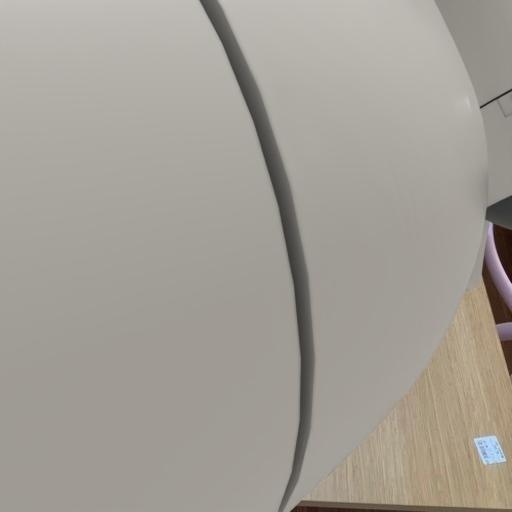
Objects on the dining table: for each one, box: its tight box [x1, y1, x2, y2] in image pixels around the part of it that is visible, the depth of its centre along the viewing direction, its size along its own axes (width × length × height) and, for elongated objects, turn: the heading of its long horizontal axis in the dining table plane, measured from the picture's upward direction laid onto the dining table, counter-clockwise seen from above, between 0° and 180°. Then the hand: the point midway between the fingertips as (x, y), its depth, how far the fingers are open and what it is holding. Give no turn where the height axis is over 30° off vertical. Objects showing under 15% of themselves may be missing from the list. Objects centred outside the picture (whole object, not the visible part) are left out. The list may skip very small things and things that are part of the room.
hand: (303, 244), depth 46 cm, fingers open, 8 cm apart
